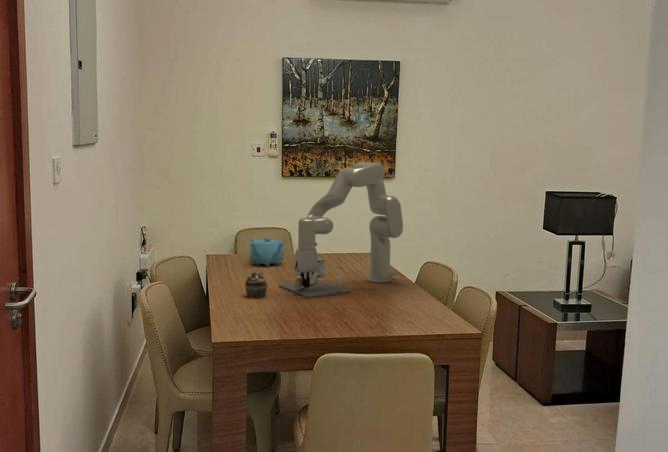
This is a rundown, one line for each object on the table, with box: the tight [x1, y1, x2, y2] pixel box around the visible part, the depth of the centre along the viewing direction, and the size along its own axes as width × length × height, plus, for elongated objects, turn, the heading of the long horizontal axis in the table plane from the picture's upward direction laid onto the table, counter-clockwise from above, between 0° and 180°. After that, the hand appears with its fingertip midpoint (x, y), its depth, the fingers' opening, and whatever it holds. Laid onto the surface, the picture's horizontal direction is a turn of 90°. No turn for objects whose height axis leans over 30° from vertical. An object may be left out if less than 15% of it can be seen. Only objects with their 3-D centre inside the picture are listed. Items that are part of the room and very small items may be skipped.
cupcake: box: [245, 272, 268, 299], centre depth 276 cm, size 10×10×10 cm
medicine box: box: [317, 258, 325, 278], centre depth 320 cm, size 8×4×9 cm, turn 68°
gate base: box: [278, 274, 351, 300], centre depth 290 cm, size 22×25×8 cm
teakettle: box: [249, 237, 286, 268], centre depth 346 cm, size 19×19×15 cm
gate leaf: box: [294, 273, 318, 290], centre depth 292 cm, size 2×19×5 cm, turn 156°
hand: (306, 286), depth 284 cm, fingers closed
